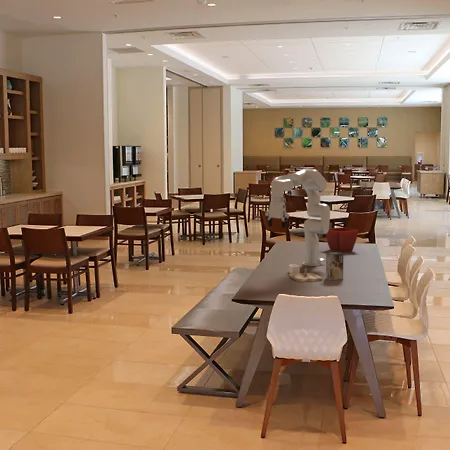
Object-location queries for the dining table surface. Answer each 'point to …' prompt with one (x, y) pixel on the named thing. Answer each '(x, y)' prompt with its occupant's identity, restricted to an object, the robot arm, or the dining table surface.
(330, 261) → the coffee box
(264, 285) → the dining table surface
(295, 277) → the pin plate
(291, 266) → the jaw block
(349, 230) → the plant pot
